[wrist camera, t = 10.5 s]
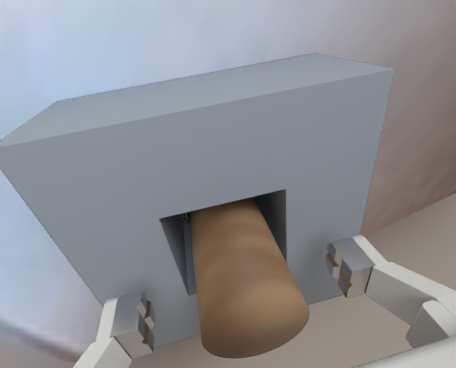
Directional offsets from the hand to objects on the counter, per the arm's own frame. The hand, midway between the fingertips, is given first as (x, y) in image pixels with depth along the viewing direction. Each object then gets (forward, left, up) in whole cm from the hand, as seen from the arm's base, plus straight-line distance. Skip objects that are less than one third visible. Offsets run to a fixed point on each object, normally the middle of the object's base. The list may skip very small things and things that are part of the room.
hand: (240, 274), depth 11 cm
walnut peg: (0, 0, -8) cm, 8 cm away
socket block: (0, 0, -8) cm, 8 cm away
